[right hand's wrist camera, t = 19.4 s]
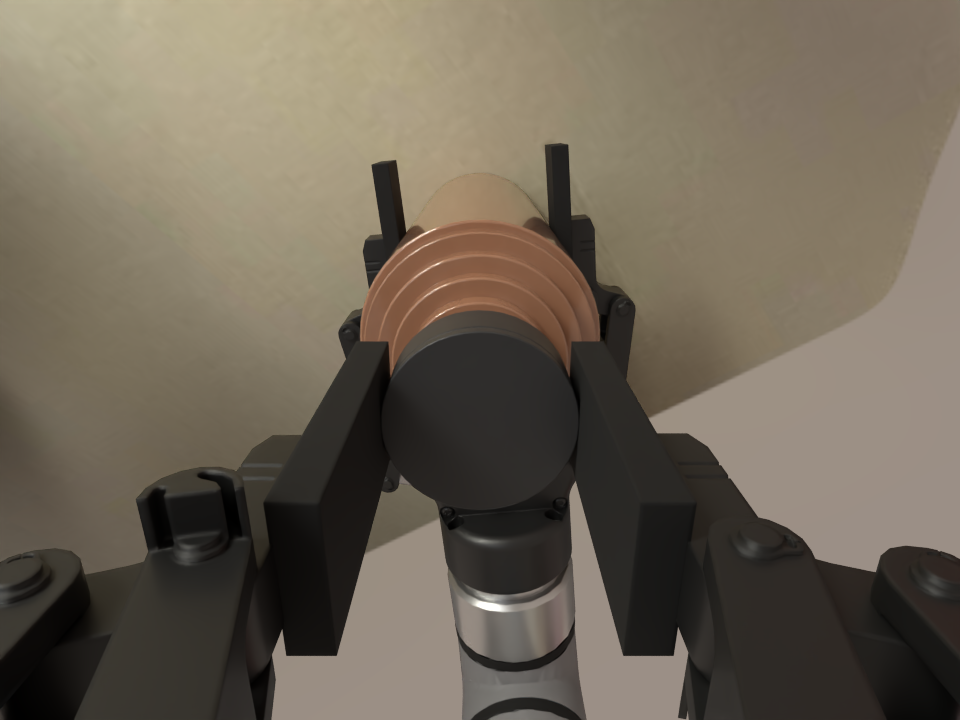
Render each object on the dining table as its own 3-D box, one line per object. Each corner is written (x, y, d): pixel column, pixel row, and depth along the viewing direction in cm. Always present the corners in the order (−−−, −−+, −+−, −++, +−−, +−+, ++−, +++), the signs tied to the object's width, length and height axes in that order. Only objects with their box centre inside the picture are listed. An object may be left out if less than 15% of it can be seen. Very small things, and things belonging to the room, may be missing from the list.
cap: (397, 298, 14) (387, 319, 12) (584, 320, 14) (597, 344, 12) (385, 463, 15) (374, 500, 14) (553, 480, 15) (561, 519, 14)
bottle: (566, 228, 36) (710, 396, 13) (487, 318, 38) (498, 595, 15) (471, 145, 34) (455, 178, 12) (394, 244, 36) (255, 433, 14)
